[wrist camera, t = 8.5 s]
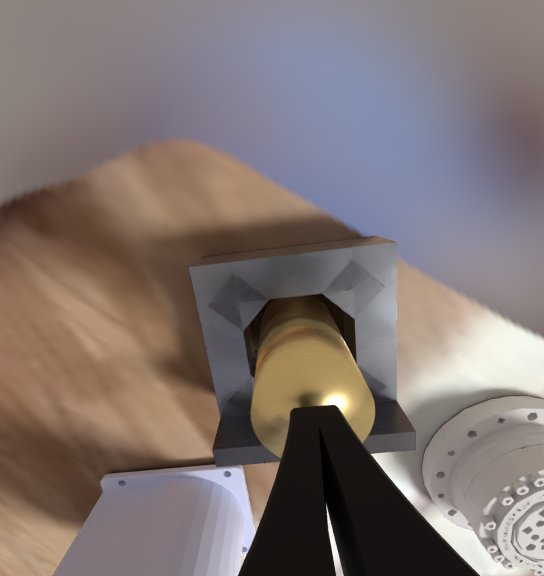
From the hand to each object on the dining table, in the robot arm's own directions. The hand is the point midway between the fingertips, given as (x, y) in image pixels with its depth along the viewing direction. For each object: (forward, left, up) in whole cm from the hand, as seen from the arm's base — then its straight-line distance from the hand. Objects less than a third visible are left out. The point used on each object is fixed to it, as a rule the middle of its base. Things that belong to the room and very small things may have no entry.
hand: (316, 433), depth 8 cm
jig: (0, 0, -8) cm, 8 cm away
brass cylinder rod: (0, 0, -8) cm, 8 cm away
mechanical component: (+12, -11, -8) cm, 18 cm away
